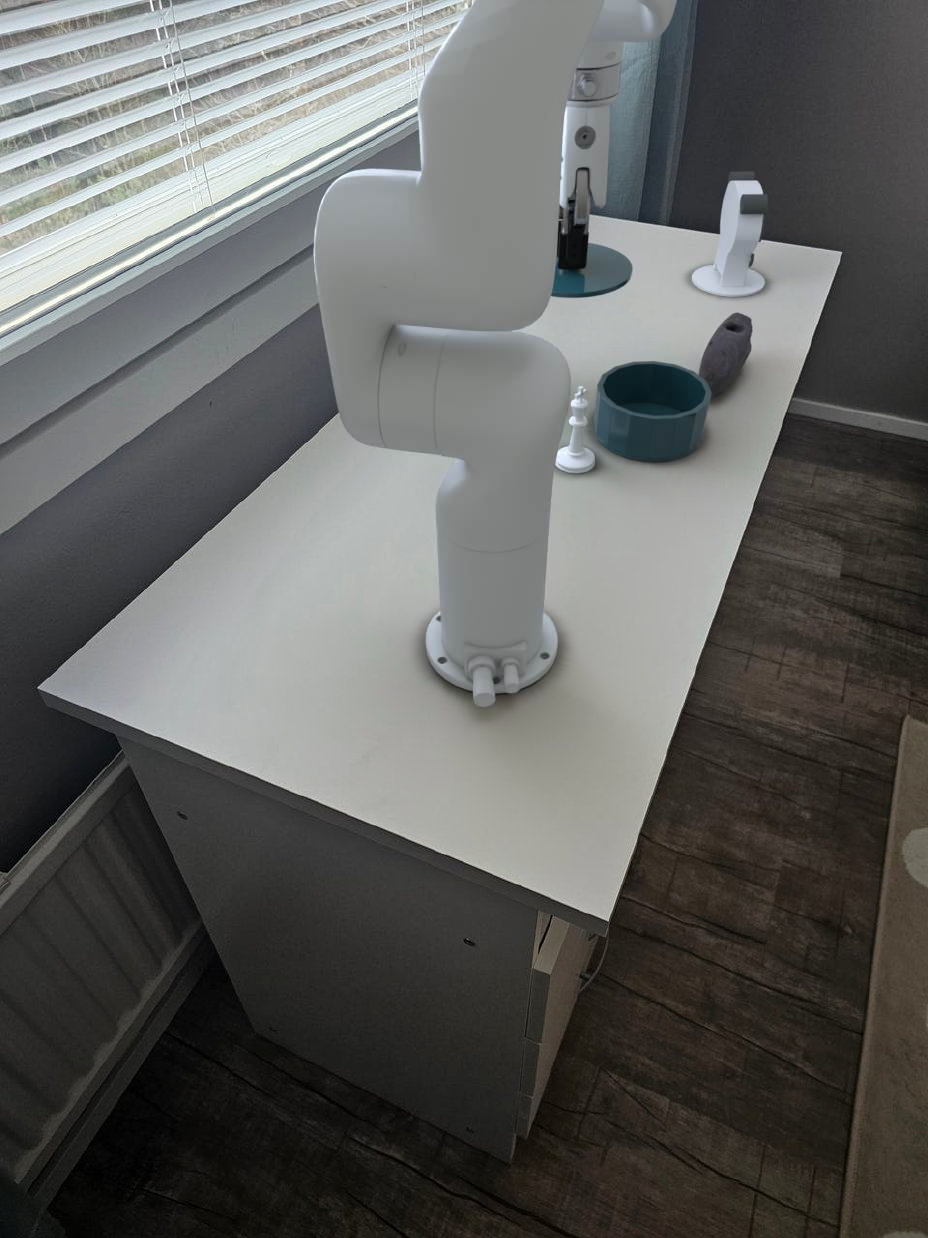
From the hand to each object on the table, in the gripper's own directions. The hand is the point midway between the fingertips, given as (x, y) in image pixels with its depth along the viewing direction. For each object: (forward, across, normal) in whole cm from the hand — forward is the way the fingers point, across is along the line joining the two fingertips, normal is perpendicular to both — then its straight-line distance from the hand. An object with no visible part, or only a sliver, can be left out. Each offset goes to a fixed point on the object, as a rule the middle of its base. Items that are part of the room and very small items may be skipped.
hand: (570, 260), depth 102 cm
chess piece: (+19, -12, 0) cm, 23 cm away
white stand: (+19, +36, -31) cm, 51 cm away
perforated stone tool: (+19, +5, -22) cm, 30 cm away
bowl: (+19, -6, -10) cm, 23 cm away
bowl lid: (+1, 0, 0) cm, 1 cm away
